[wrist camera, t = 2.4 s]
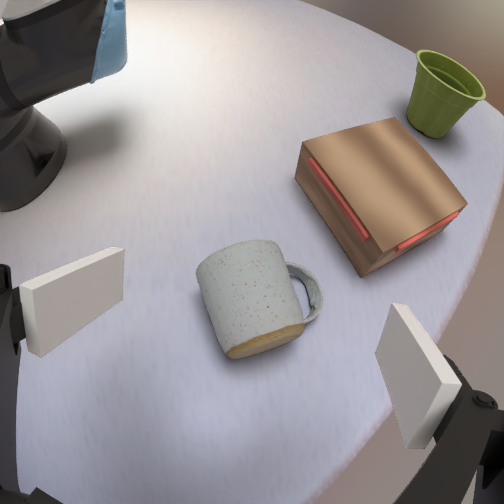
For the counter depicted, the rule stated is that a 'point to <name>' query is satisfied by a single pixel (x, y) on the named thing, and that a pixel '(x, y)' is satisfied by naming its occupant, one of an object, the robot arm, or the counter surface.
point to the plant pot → (441, 93)
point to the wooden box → (377, 191)
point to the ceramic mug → (255, 297)
